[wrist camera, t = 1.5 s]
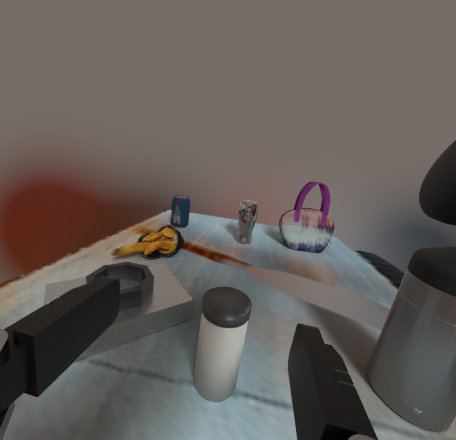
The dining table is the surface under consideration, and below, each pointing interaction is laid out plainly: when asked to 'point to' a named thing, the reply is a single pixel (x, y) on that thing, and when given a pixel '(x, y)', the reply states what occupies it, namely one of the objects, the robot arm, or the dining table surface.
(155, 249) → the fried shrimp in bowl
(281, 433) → the dining table surface
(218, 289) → the canister
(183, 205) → the soda can
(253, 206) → the beer glass
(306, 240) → the handbag
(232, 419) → the dining table surface
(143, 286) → the slab with octagonal socket
